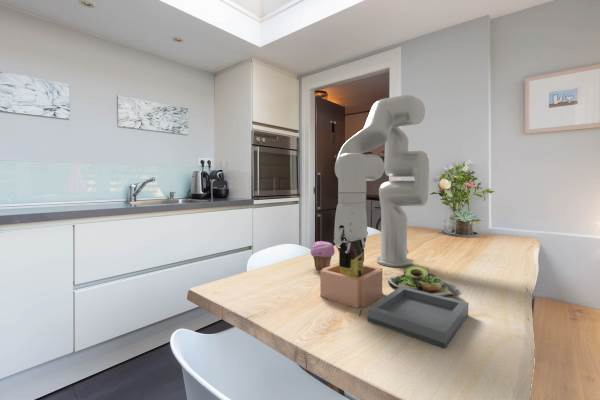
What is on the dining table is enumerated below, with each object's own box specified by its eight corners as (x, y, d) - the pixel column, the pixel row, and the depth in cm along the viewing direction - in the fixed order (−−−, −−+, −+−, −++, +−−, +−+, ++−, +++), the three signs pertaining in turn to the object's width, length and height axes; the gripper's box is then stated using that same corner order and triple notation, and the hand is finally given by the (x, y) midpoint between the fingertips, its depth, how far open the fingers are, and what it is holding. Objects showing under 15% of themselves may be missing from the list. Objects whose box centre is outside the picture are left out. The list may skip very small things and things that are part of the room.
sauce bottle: (363, 299, 76) (363, 225, 74) (339, 298, 77) (339, 224, 75) (363, 290, 82) (363, 221, 81) (341, 289, 83) (340, 221, 82)
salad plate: (478, 295, 79) (479, 279, 78) (432, 308, 71) (432, 289, 71) (422, 275, 96) (422, 262, 96) (380, 283, 89) (380, 269, 89)
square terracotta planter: (344, 282, 89) (344, 260, 88) (384, 293, 80) (385, 268, 79) (318, 295, 79) (318, 270, 78) (360, 309, 70) (360, 281, 70)
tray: (400, 297, 77) (401, 286, 77) (468, 315, 66) (468, 302, 66) (367, 321, 64) (367, 308, 64) (445, 348, 53) (445, 333, 53)
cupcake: (311, 264, 109) (311, 238, 108) (334, 265, 108) (334, 239, 107) (309, 271, 100) (309, 243, 99) (334, 272, 99) (334, 244, 98)
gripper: (356, 197, 87) (356, 256, 88) (321, 200, 74) (321, 268, 75) (379, 198, 82) (379, 260, 83) (346, 201, 69) (346, 274, 70)
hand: (351, 263), depth 79 cm, fingers closed on sauce bottle, 6 cm apart
